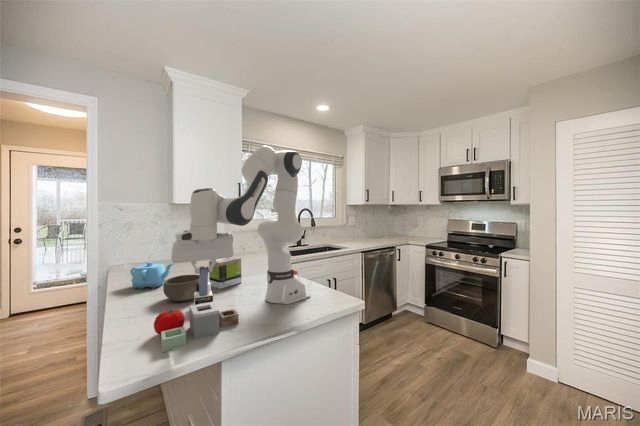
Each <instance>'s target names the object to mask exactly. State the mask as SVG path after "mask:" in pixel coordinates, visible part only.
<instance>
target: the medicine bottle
mask: <svg viewBox="0 0 640 426" xmlns="http://www.w3.org/2000/svg"><path fill="white" fill-rule="evenodd" d="M208 302H213V303H214V294H213V291H212V287H211V283H210V281H208V295H206V296H199V283H197V284H196V292H195V293H194V299H193V305H197V304H203V303H208Z"/></svg>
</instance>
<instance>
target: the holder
mask: <svg viewBox="0 0 640 426" xmlns="http://www.w3.org/2000/svg"><path fill="white" fill-rule="evenodd" d="M239 323H240V322H239V313H238V312H237V310H236V309H235V308H232V309H226V310H222V311H219V326H221V327H222V328H224V327H229V326H235V325H238V324H239Z"/></svg>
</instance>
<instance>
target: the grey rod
mask: <svg viewBox="0 0 640 426" xmlns="http://www.w3.org/2000/svg"><path fill="white" fill-rule="evenodd" d="M208 267H209V265H208V266H207V265H201V266H199V268H200V273H198V275H199V296H206V295H208V282H209V272H208Z"/></svg>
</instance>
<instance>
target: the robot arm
mask: <svg viewBox="0 0 640 426" xmlns="http://www.w3.org/2000/svg"><path fill="white" fill-rule="evenodd" d="M302 163H303V161H302V157H301V155H300V153H299V152H297V151H294V150H280V151H275V150H274V148H272V147H271V146H268V145H262V146H260V147H259V148H257V149H256V150H254V152H253V153H251V155H250V156H249V157H248V158H247V159H246V160H245V161H244V163H243V164H242V167H241V175H242V177H243V179H244V180H245V181H246V182H247V183H248V186H247V187H246V190H245V191H244V193H243V194H242V195H241V196H237V197H234V198H229V197H228V198H227V197H225V196H223V195H221V194H220V193H218V192H217V191H216V189H215V188H213V187H209V188H208V187H207V188H199V189H195V190H193V191H192V192H191V195H190V196H191V197H190V201H189V202H190V205H189V214H190V218H191V219H190V223H189V229H187V230H183V231H179V232H177V233H176V234H175V239H176V240H175V241H174V242H173V243H172V249H171V252H170V253H171V255H170V256H171V257H170V258H171V259H170V260H171V261H172V262H173V264H177V263H188V262H190V264H191V265H192V267H193V268H194V275H199V273H200V267H198V266H196V265H197V262H200V261H211V262H212V263H211V265H210V266H209V265H208V273H209V272H213V266H214V265H215V263H216V260H217V259H223V258H231V257H234V245H233V243H234V235H233V234H231V233H230V232H218V224H226V225H234V226H239V227H240V226H241V227H242V226H243V227H244V226H246V225H248V224H250V222H251V221H252V220H253V218H254V215H255V211H256V208H257V206H258V204H259V202H260V199H261V198H262V195H263V193H264V192H265V189H266V188H267V185H268V182H269V176H270V175H276V176H277V180H276V181H277V182H276V183H275V184H276V185H275V189H274V195H273V201H272V207H273V209H274V210H275V211H276V213H277V218H270V219H269V218H268V219H264V220H262V221H261V222H260V223H258V226H257V234H258V236H259V237H260V238H261V239H262V241H263V243H264V245H265V249H266V253H267V271H266V272H267V273H266V279H267V280H266V282H267V285H266V292H265V296H264V301H266V302H267V303H272V304H284V305H290V304H292V303H296V302H298V301H303V300H304V299H305V300H306V299H308V298H310V297H311V294H310V292H308V291H307V290H306V285H305V284H304V282H303V281H301V280H300V279H299V278H297V277H296V276H297V275H298V274H299V271H298V270H294V269H292V256H291V255H292V254H291V252H290V251H289V250H288V249H287V248H286V246H285V244H290V243H291V244H292V243H297V242H298V241H300V240H301V238H302V236H303V233H304V231H303V227H302V224H301V223H300V222H299V220H298V217H297V215H296V203H297V197H298V191H299V190H298V189H299V177H298V174H299V172H300V170H301V168H302V165H303V164H302Z"/></svg>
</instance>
